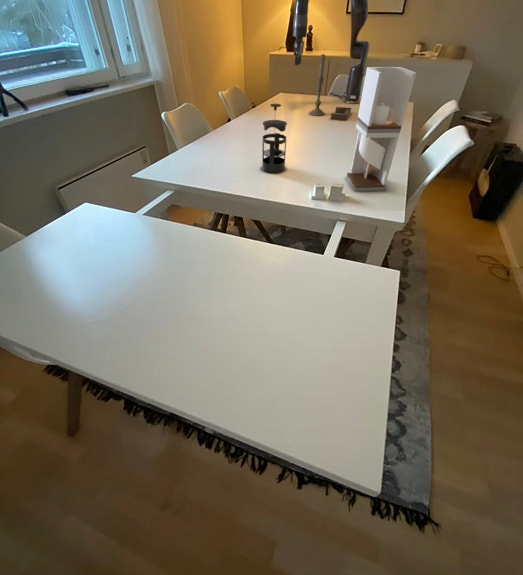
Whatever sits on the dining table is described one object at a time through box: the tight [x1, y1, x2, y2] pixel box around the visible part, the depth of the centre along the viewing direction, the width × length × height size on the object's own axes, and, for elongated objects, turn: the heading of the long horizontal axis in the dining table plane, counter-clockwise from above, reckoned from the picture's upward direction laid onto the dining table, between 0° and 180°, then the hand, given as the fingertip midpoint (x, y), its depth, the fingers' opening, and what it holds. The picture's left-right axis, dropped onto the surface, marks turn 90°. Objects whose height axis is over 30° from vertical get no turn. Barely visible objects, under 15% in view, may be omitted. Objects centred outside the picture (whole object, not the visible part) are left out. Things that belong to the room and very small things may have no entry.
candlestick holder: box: [309, 52, 326, 117], centre depth 183 cm, size 9×9×30 cm
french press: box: [261, 103, 288, 174], centre depth 120 cm, size 12×9×23 cm
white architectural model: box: [346, 66, 417, 192], centre depth 105 cm, size 11×11×35 cm
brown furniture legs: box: [330, 106, 352, 122], centre depth 188 cm, size 9×18×3 cm, turn 160°
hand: (297, 64), depth 180 cm, fingers open, 4 cm apart
